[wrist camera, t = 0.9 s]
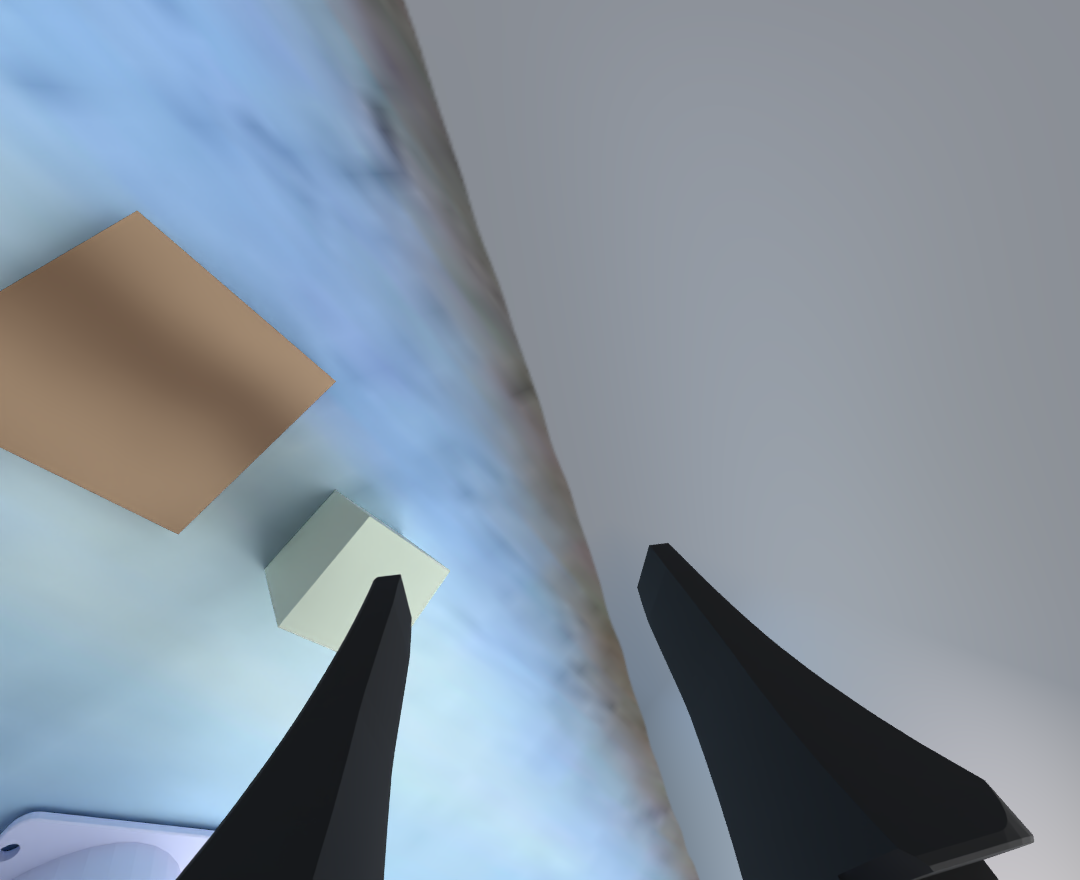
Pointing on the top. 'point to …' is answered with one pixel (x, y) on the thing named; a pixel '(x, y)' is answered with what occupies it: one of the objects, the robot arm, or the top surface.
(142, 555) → the top surface
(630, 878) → the top surface
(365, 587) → the sage block
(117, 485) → the walnut base block
